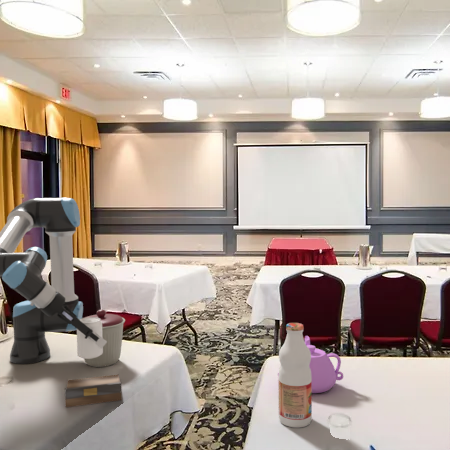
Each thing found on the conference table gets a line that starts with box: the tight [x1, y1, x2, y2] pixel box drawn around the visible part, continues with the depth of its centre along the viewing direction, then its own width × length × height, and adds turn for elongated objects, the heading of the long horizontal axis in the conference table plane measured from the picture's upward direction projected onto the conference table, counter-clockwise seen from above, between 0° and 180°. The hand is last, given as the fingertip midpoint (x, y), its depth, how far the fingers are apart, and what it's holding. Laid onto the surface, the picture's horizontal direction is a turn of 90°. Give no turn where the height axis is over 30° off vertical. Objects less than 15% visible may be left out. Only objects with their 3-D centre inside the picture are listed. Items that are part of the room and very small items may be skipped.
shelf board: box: [64, 373, 123, 408], centre depth 155 cm, size 16×17×6 cm
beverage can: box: [76, 316, 103, 360], centre depth 155 cm, size 8×8×12 cm
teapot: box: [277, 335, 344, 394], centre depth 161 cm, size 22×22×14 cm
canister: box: [83, 309, 126, 368], centre depth 183 cm, size 18×18×21 cm
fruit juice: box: [277, 322, 313, 429], centre depth 134 cm, size 9×9×28 cm
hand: (100, 342), depth 157 cm, fingers closed on beverage can, 6 cm apart
